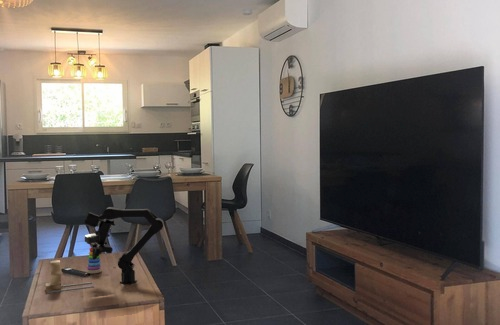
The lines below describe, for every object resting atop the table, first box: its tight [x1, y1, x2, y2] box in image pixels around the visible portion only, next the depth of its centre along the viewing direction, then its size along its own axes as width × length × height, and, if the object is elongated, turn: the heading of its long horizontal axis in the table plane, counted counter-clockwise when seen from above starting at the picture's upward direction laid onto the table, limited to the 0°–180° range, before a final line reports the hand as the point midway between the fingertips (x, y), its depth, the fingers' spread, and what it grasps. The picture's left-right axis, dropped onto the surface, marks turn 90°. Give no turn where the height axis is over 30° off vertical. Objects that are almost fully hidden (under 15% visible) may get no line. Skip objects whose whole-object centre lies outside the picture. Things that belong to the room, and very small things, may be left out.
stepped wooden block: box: [45, 259, 62, 293], centre depth 261 cm, size 7×6×14 cm
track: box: [46, 281, 94, 294], centre depth 265 cm, size 22×8×1 cm, turn 114°
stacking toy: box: [86, 243, 102, 274], centre depth 298 cm, size 8×8×19 cm
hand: (93, 259), depth 274 cm, fingers closed
